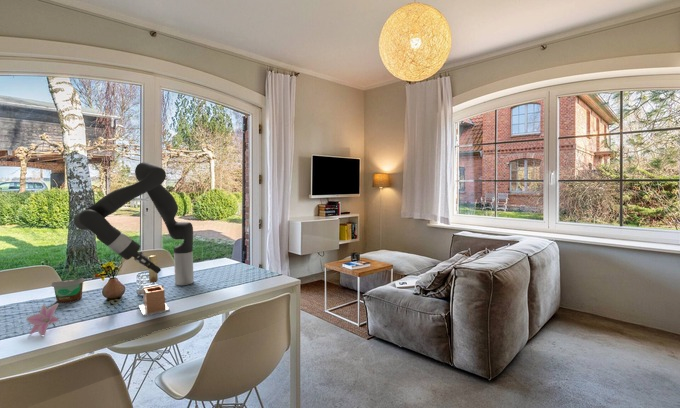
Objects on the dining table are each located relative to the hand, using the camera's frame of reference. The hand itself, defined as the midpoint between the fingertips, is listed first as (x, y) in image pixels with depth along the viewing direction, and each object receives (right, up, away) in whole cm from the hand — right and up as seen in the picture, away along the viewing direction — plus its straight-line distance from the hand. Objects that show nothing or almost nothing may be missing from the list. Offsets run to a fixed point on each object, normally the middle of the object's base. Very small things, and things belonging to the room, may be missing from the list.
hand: (158, 270), depth 150 cm
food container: (-48, -17, +11) cm, 52 cm away
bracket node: (-3, -17, +2) cm, 18 cm away
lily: (-32, -19, -19) cm, 42 cm away
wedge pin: (-2, -5, -1) cm, 5 cm away
